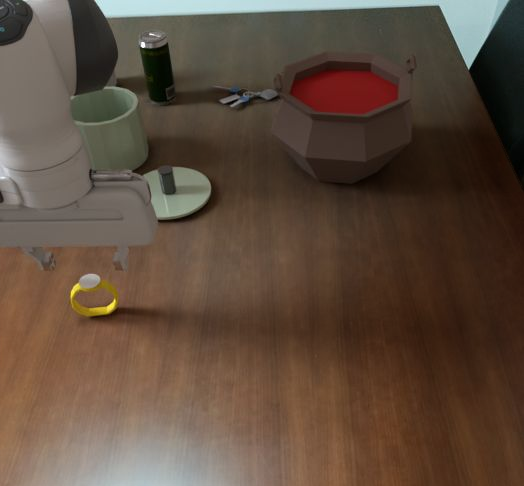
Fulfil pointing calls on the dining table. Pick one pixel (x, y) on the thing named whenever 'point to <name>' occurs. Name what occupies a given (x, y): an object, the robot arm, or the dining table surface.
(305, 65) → the brown cauldron
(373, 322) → the dining table surface
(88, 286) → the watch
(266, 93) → the key chain
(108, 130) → the pot
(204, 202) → the lid
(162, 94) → the beer can
